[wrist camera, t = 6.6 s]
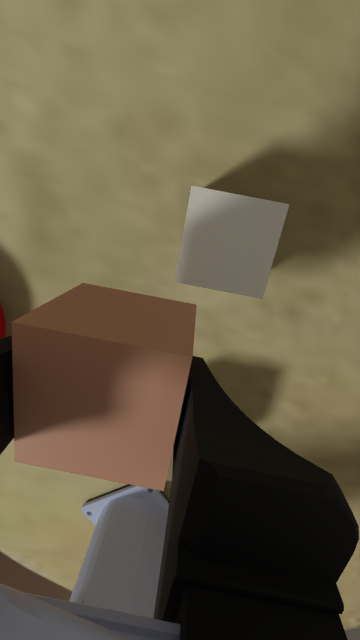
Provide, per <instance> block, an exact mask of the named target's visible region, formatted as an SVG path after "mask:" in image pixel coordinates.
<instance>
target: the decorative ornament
mask: <svg viewBox="0 0 360 640" xmlns="http://www.w3.org/2000/svg"><path fill="white" fill-rule="evenodd" d="M4 335H5V319H4V314H3V310H2V307H1V304H0V339H1V338H4Z"/></svg>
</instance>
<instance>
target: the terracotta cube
mask: <svg viewBox="0 0 360 640" xmlns="http://www.w3.org/2000/svg"><path fill="white" fill-rule="evenodd" d="M195 317H196V305H195V304H190V303H185V302H180V301H174V300H169V299H164V298H159V297H154V296H148V295H143V294H138V293H133V292H127V291H122V290H117V289H112V288H107V287H101V286H96V285H91V284H86V283H82V284H80V285H79V286H77V287H75V288H73V289H71V290H69V291H68V292H66V293H64V294H62V295H60V296H58V297H56V298H55V299H53V300H51V301H49V302H47V303H45V304H44V305H42V306H40V307H38V308H36V309H34V310H32V311H31V312H29V313H27V314H25V315H23V316H21V317H19V318H18V319H16V320H14V321H12V322H11V325H12V364H13V402H14V441H15V462H19V463H24V464H29V465H34V466H39V467H44V468H50V469H55V470H60V471H65V472H70V473H75V474H80V475H85V476H90V477H95V478H100V479H105V480H110V481H115V482H120V483H125V484H130V485H135V486H140V487H145V488H150V489H155V490H160V491H164V488H165V483H166V478H167V474H168V469H169V464H170V460H171V455H172V450H173V446H174V441H175V436H176V432H177V427H178V422H179V418H180V413H181V408H182V404H183V399H184V394H185V390H186V385H187V380H188V376H189V371H190V366H191V362H192V357H193V344H194V330H195Z"/></svg>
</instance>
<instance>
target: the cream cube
mask: <svg viewBox="0 0 360 640" xmlns="http://www.w3.org/2000/svg"><path fill="white" fill-rule="evenodd" d="M288 208H289V204H286V203H281V202H275V201H270V200H265V199H259V198H254V197H249V196H244V195H238V194H233V193H228V192H222V191H217V190H212V189H207V188H201V187H196V186H191V192H190V198H189V204H188V209H187V215H186V221H185V226H184V232H183V238H182V244H181V249H180V255H179V261H178V266H177V272H176V278H175V282H178V283H183V284H188V285H193V286H198V287H204V288H209V289H214V290H219V291H224V292H230V293H235V294H240V295H245V296H250V297H256V298H261V299H263V295H264V292H265V288H266V285H267V281H268V278H269V274H270V271H271V267H272V264H273V260H274V257H275V253H276V250H277V246H278V243H279V239H280V236H281V232H282V229H283V225H284V222H285V218H286V215H287V211H288Z"/></svg>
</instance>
